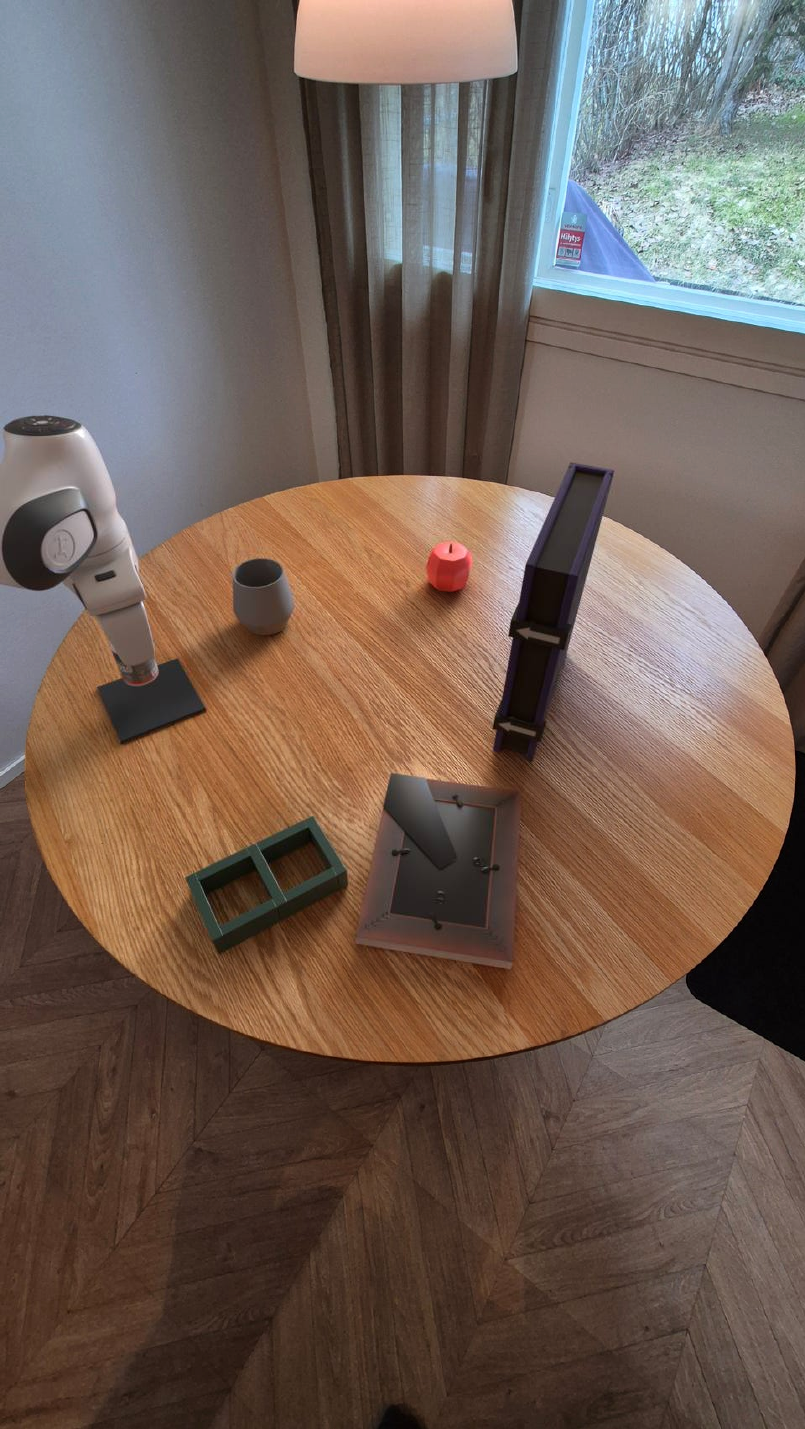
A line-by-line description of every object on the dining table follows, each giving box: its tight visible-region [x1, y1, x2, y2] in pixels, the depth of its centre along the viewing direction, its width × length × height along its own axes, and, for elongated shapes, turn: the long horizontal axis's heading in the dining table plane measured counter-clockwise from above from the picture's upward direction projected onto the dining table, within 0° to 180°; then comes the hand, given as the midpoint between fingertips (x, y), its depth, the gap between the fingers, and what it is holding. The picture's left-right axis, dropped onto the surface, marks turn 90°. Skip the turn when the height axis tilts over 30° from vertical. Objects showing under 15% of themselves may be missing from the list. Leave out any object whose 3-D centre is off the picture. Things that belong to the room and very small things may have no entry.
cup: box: [232, 557, 295, 636], centre depth 102 cm, size 10×9×10 cm
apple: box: [425, 541, 474, 593], centre depth 111 cm, size 8×8×8 cm
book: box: [492, 462, 615, 763], centre depth 84 cm, size 24×6×30 cm, turn 159°
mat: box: [96, 657, 207, 745], centre depth 94 cm, size 12×12×1 cm
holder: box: [184, 815, 349, 955], centre depth 74 cm, size 16×8×4 cm, turn 121°
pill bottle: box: [109, 641, 158, 686], centre depth 88 cm, size 5×5×8 cm
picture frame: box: [354, 772, 522, 970], centre depth 76 cm, size 16×2×22 cm
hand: (130, 647), depth 87 cm, fingers closed on pill bottle, 5 cm apart
